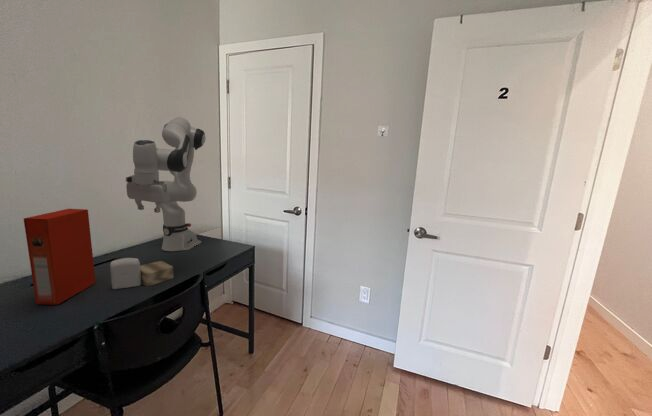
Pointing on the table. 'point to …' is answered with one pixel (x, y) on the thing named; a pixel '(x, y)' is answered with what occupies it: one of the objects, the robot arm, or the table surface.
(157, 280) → the oak box
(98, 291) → the table surface
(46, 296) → the file binder
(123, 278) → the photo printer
